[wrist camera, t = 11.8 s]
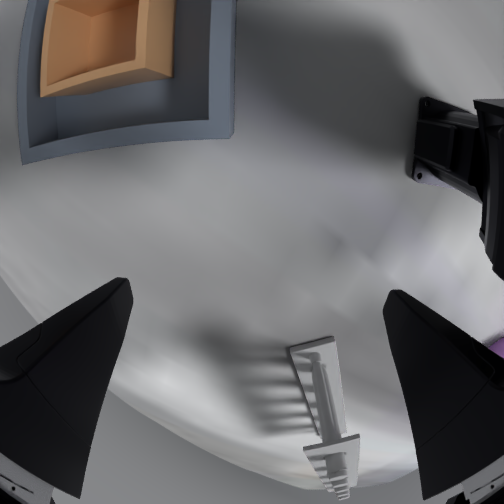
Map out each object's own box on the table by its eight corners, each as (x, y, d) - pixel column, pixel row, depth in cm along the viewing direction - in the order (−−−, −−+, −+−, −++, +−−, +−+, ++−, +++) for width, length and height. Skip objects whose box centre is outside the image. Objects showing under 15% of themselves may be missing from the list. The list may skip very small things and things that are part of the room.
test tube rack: (289, 346, 26) (304, 476, 14) (333, 335, 25) (367, 461, 14) (320, 434, 37) (329, 504, 26) (346, 428, 37) (359, 497, 25)
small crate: (177, -8, 11) (154, -39, 6) (173, 78, 14) (145, 67, 10) (89, 15, 11) (49, -1, 6) (85, 95, 14) (40, 97, 10)
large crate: (238, -46, 10) (236, -75, 6) (233, 132, 16) (229, 138, 13) (60, -4, 9) (32, -14, 6) (54, 152, 16) (22, 165, 13)
